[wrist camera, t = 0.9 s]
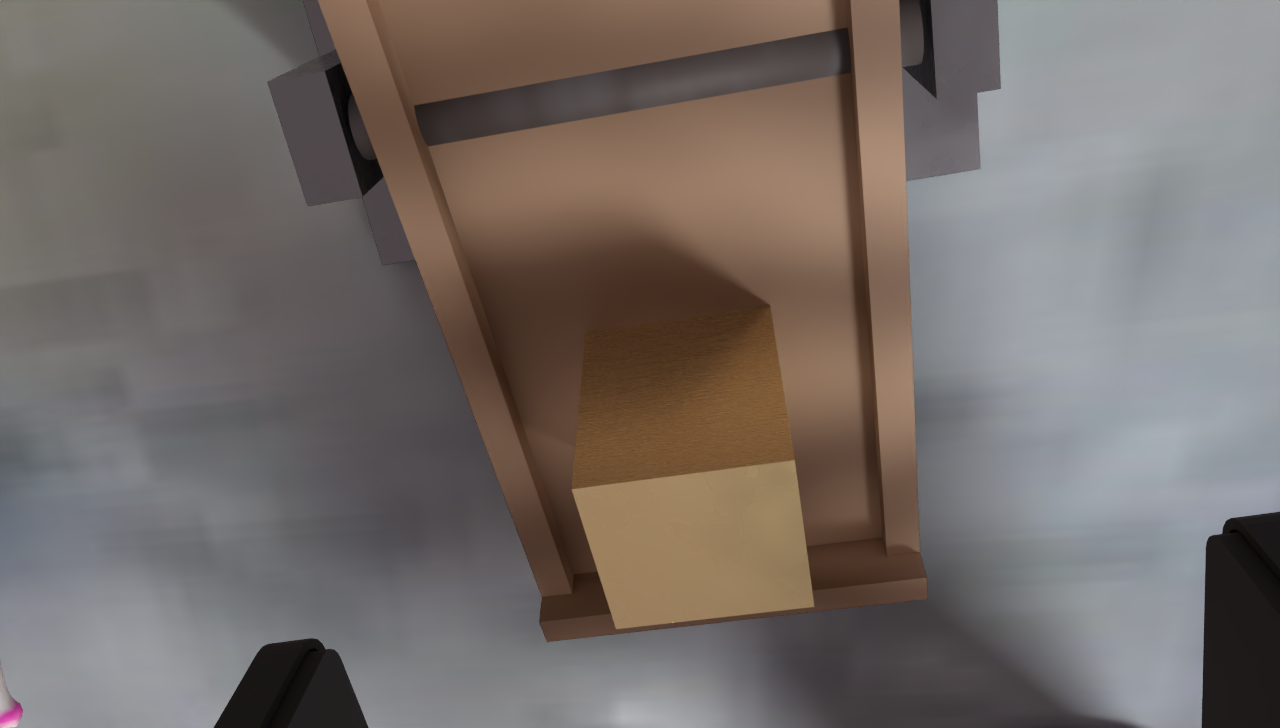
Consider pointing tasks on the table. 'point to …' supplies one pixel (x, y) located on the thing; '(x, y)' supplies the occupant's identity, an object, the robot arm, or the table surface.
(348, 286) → the table surface
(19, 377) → the table surface
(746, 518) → the rider
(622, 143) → the beam
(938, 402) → the table surface
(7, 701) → the blue mole toy
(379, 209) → the beam stand
